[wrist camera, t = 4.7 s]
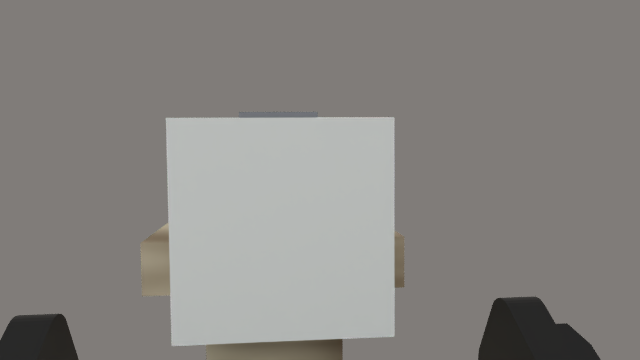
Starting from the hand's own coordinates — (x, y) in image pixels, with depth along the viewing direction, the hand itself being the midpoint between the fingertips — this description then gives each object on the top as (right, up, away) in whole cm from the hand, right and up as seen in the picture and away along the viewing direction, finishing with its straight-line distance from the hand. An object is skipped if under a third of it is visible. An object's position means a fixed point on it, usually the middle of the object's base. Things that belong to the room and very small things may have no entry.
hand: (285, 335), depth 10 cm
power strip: (-1, +1, +12) cm, 12 cm away
